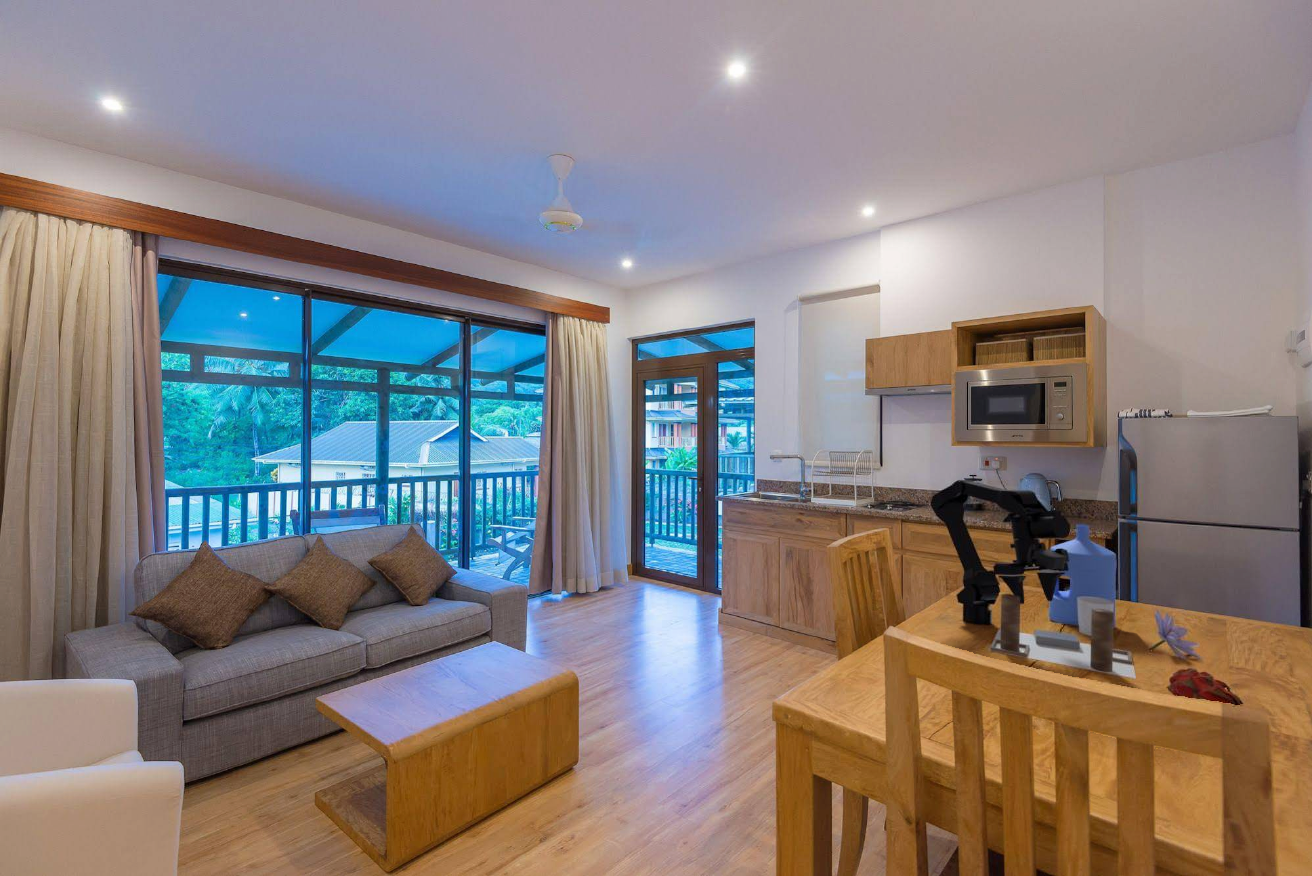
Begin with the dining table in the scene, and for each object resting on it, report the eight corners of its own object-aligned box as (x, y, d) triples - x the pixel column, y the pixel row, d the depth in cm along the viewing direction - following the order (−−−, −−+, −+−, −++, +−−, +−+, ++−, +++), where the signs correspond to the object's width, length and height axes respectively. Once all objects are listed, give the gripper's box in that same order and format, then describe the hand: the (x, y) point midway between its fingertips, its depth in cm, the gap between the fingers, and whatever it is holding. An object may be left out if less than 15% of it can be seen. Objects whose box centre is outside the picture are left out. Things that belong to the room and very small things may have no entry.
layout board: (989, 655, 147) (989, 647, 147) (998, 633, 163) (998, 626, 163) (1135, 684, 131) (1136, 675, 131) (1130, 656, 147) (1130, 648, 147)
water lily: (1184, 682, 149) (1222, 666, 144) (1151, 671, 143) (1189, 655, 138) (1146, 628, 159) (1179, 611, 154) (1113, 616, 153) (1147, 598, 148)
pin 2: (1090, 669, 136) (1091, 611, 135) (1090, 663, 139) (1091, 607, 139) (1112, 673, 133) (1113, 614, 133) (1112, 667, 137) (1113, 610, 136)
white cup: (1119, 644, 156) (1120, 605, 155) (1085, 641, 157) (1085, 603, 157) (1103, 634, 163) (1104, 597, 163) (1070, 632, 165) (1071, 595, 165)
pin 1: (999, 649, 147) (1000, 596, 147) (1001, 645, 151) (1002, 593, 150) (1018, 653, 145) (1019, 599, 145) (1020, 648, 148) (1020, 595, 148)
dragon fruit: (1166, 704, 125) (1237, 740, 113) (1148, 685, 122) (1219, 721, 110) (1189, 670, 125) (1261, 703, 114) (1171, 651, 122) (1244, 683, 111)
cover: (1036, 643, 152) (1036, 635, 152) (1033, 636, 157) (1034, 629, 157) (1079, 650, 148) (1079, 642, 148) (1075, 642, 153) (1075, 634, 153)
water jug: (1112, 621, 175) (1114, 524, 175) (1118, 636, 162) (1120, 531, 161) (1048, 611, 183) (1049, 519, 183) (1048, 625, 170) (1050, 526, 170)
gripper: (1025, 540, 144) (1036, 608, 141) (1083, 536, 150) (1094, 601, 147) (987, 541, 155) (996, 604, 152) (1043, 538, 160) (1052, 598, 157)
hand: (1036, 602), depth 152 cm, fingers open, 9 cm apart
